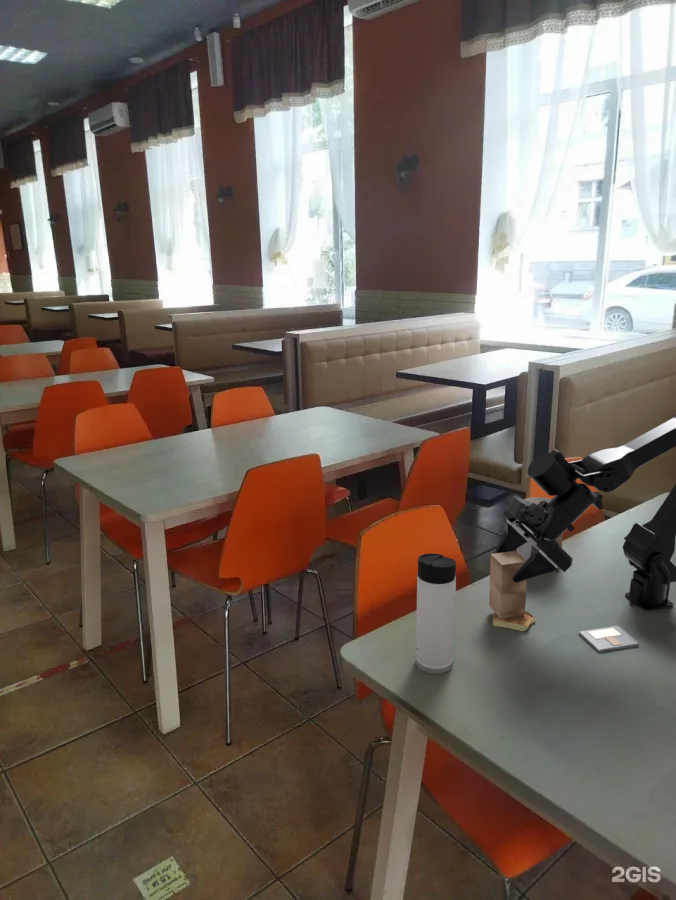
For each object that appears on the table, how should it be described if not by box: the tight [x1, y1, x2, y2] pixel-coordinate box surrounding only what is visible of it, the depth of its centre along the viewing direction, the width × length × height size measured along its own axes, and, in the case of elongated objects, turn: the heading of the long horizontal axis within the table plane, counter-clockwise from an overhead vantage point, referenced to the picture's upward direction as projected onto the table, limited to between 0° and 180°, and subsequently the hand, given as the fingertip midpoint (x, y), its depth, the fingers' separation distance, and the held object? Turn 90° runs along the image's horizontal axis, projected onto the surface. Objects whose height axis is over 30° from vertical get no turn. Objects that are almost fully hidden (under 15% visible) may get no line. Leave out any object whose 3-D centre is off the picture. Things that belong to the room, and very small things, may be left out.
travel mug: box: [415, 553, 457, 675], centre depth 110 cm, size 6×7×20 cm
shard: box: [492, 610, 537, 632], centre depth 128 cm, size 11×8×2 cm
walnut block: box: [488, 550, 528, 619], centre depth 126 cm, size 5×5×11 cm
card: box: [578, 625, 640, 653], centre depth 119 cm, size 8×6×1 cm
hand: (503, 569), depth 124 cm, fingers open, 9 cm apart
